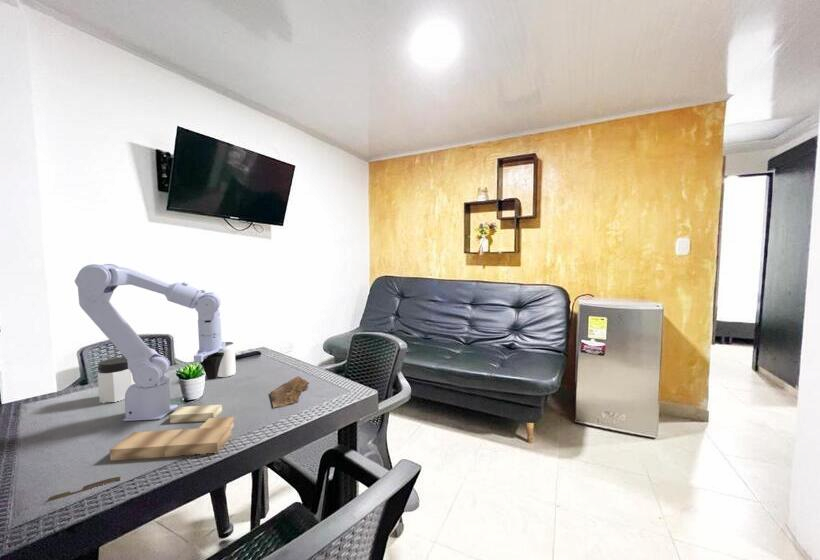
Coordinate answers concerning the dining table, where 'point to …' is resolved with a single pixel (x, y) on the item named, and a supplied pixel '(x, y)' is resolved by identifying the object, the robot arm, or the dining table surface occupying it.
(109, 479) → the wooden stick
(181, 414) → the plank
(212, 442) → the angled wooden block
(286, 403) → the wooden fragment
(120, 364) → the jar
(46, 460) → the dining table surface
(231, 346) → the can
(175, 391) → the dining table surface
